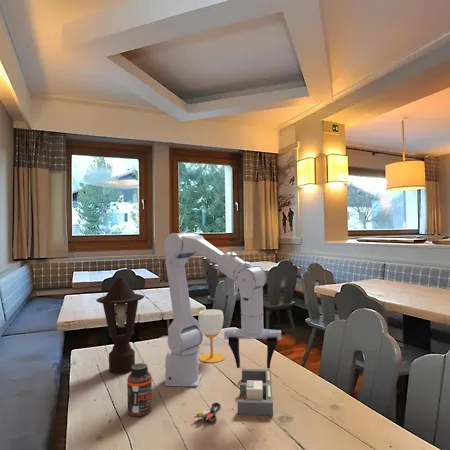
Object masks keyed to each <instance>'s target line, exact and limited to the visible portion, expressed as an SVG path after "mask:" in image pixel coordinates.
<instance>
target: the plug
mask: <svg viewBox="0 0 450 450" xmlns="http://www.w3.org/2000/svg"><path fill="white" fill-rule="evenodd" d="M246 383H247V388H246V395H247V396H246V399H249V400H264V397H263V385H262V383H263V381H248V380H247V381H246Z"/></svg>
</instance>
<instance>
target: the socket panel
mask: <svg viewBox="0 0 450 450" xmlns="http://www.w3.org/2000/svg"><path fill="white" fill-rule="evenodd" d="M247 380H248V381H262V385H263V398H266V399H263V400H249V399H247V398H246V399H245V398H244V399H241V398H237V415H239V416H240V415H241V416H243V415H245V416H274V401H273V400H274V397H273V388H272V387H273V385H272V371H271V368H270V369H267V368H265V369H264V368H242V369H241V381H242V382H239V397H247V395H246V388H247Z"/></svg>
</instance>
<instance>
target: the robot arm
mask: <svg viewBox="0 0 450 450" xmlns="http://www.w3.org/2000/svg"><path fill="white" fill-rule="evenodd" d="M163 246H164V253H165V267H166V273H167V280H168V281H167V282H168V288H169V294H170V301H171V307H172V315H173V320H172V322H171V323H170V325H168V328H167V332H168V333H167V334H168V336H167V345H168V348H169V350H168V351H167V352H166V355H165V360H164V361H165V362H164V363H165V364H164V365H165V367H164V368H165V386H166V387H192V388H193V387H198V386H199V384H200V381H201V379H202V376H203V375H202V373H199V349H200V345H201V344H202V343H203V342H204V341H203V340H204V334H203V333H202V331H201V329H200V326H199V321H198V320H197V319H196V318H195V317H193V313H192V309H191V308H192V307H191V300H190V294H189V293H190V292H189V286H188V281H187V274H186V267H185V266H186V263H187V262H188V261H189V259H191V258H192V257H193V256H195V255H196V254H199V255H201V256H203V257H204V258H206V259H208V260H209V261H211V262H212V263H215V264H216V265H217V270H218V271H220V272H221V274H224V275H225V276H226V277H228V278H229V279H231V280H233V281H234V282H235V284H236V287H237V288H238V290H239V296H240V321H241V323H240V325H241V327H240V328H236V329H235V328H233V329H224V331H223V338H224V340H228V345H229V348H230V350H231V352H232V354H233V357H234V360H235V365H236V368H237V369H240V367H241V357H240V356H241V355H240V339H243V340H246V339H247V340H249V339H250V340H266V342H267V343H266V347H267V348H266V349H267V350H266V351H267V352H266V355H267V356H266V369H271V363H272V362H271V361H272V358H273V355H274V351H275V349H276V347H277V345H278V341H281V340H282V330H281V329H269V328H264V296H263V295H264V288H263V287H264V286H265V285H266V282H267V280H268V279H267V273H266V271H265V269H263V268H262V267H261V266H260V265H252V264H251V263H250V262H249V261H245V260H244V259H241V258H240V257H238V254H237V253H235V252H225V253H224V252H222V251H221V250H220V249H218V248H217V247H215V246H214V245H213V244H211V243H210V242H209V241H208V240H206V239H205V238H204V236H203V235H200V234H199V233H197V232H194V231H193V232H187V233H183V232H181V233H176V232H172V233H170V234H169V235H168V236H167V238H166V240H164V242H163Z"/></svg>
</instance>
